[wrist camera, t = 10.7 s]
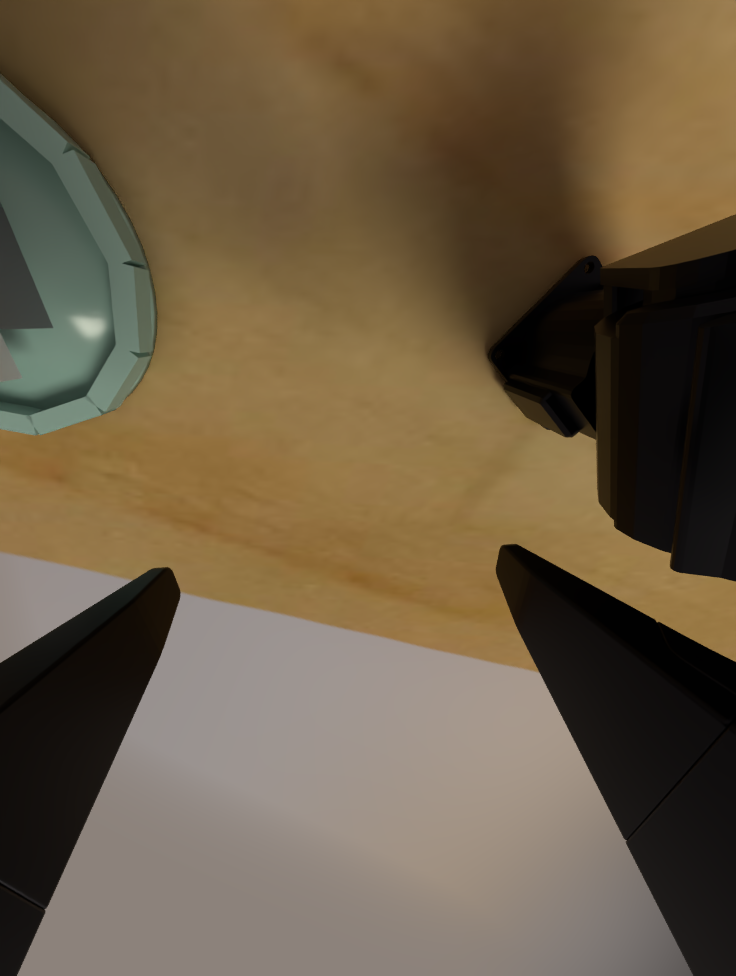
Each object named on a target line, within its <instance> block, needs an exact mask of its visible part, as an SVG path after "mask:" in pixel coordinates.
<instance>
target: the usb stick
mask: <svg viewBox="0 0 736 976" xmlns="http://www.w3.org/2000/svg"><path fill="white" fill-rule="evenodd" d="M43 328H53V326H52V323H51V321H50V319H49V316H48V314H47V311H46V309H45V307H44V304H43V302H42V300H41V297H40V295H39V292H38V290H37V288H36V285H35V283H34V280H33V278H32V276H31V273H30V271H29V269H28V266H27V264H26V261H25V259H24V257H23V254H22V252H21V249H20V247H19V245H18V242H17V240H16V238H15V235H14V233H13V230H12V228H11V226H10V223H9V221H8V218H7V216H6V214H5V211H4V209H3V207H2V205H1V202H0V329H43ZM21 378H22V376H21V374H20V372H19V370H18V368H17V366H16V364H15V362H14V360H13V358H12V356H11V354H10V352H9V350H8V348H7V346H6V344H5V341H4V339H3V337H2V335H1V333H0V382H3V381H9V380H15V379H21Z"/></svg>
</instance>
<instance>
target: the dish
mask: <svg viewBox="0 0 736 976" xmlns="http://www.w3.org/2000/svg"><path fill="white" fill-rule="evenodd" d="M89 158H90V156H89V155H88V154H87V153H85V152H84V151H83V150H82V149H81V148H80V146H79V145H78V144H77V143H76V142H75V141H74V140H73V139H72V138H71V137H70V136H69V135H68V134H67V133H66V132H65V131H64V130H63V129H62V128H61V127H60V126H59V125H58V124H57V123H56V122H55V121H54V120H53V119H52V118H50V117H49V116H48V115H47V114H46V113H45V112H43V111H42V110H41V109H40V108H39V107H37V106H36V105H35V104H34V103H33V102H32V101H30V100H29V99H28V98H26V97H25V96H24V95H23V94H22V93H21V92H20V91H19V90H18V89H17V88H16V87H14V86H13V85H12V84H11V83H10V82H9V81H8V80H7V79H6V78H5V77H4V76H3V75H2V74H0V202H1V205H2V207H3V209H4V211H5V214H6V216H7V218H8V221H9V223H10V226H11V228H12V230H13V233H14V235H15V238H16V240H17V242H18V245H19V247H20V249H21V252H22V254H23V257H24V259H25V261H26V264H27V266H28V269H29V271H30V273H31V276H32V278H33V280H34V283H35V285H36V288H37V290H38V292H39V295H40V297H41V300H42V302H43V304H44V307H45V309H46V311H47V314H48V316H49V319H50V321H51V323H52V326H53V328H43V329H0V333H1V335H2V337H3V339H4V341H5V344H6V346H7V348H8V350H9V352H10V354H11V356H12V358H13V360H14V362H15V364H16V366H17V368H18V370H19V372H20V374H21V376H22V378H21V379H15V380H9V381H3V382H0V429H3V430H9V431H14V432H20V433H26V434H31V435H38V434H40V435H43V434H46V433H49V432H52V431H55V430H58V429H61V428H64V427H67V426H70V425H73V424H76V423H79V422H82V421H85V420H88V419H91V418H94V417H97V416H100V415H103V414H105V413H108V412H111V411H113V410H116V408H118V407H120V406H121V404H122V402H123V401H124V400H125V399H126V398H127V397H128V396H129V395H130V394H131V393H132V392H133V391H134V390H135V388H136V387H137V386H138V384H139V383H140V382H141V381H142V379H143V377H144V375H145V373H146V371H147V369H148V367H149V365H150V361H151V358H152V355H153V352H154V348H155V342H156V335H157V305H156V296H155V289H154V285H153V280H152V276H151V272H150V268H149V265H148V262H147V259H146V256H145V253H144V250H143V247H142V245H141V242H140V240H139V238H138V236H137V233H136V231H135V229H134V227H133V225H132V222H131V220H130V218H129V217H128V215H127V213H126V211H125V210H124V208H123V206H122V204H121V203H120V201H119V199H118V197H117V196H116V194H115V193H114V191H113V190H112V188H111V187H110V185H109V184H108V182H107V181H106V180H105V178H104V177H103V175H102V174H101V172H100V171H99V169H98V168H97V166H96V164H95V163H93V162H92V161H91V160H90V159H89Z"/></svg>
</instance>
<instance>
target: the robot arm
mask: <svg viewBox="0 0 736 976" xmlns="http://www.w3.org/2000/svg"><path fill="white" fill-rule="evenodd" d="M586 264H588V265H589V270H588V272H587V273H585V272H584V267H585V265H586ZM499 350H500V351H501V356H500V358H498V359H496V357H495V355H496V352H497V351H499ZM488 359H489V361H490V363H491V364H492V365H493V366H494V368H495V369H496V370H497V371H498V372H499V374H500V375H501V376H502V377H503V379H504V380H505V381H506V383H505V384H504V390H505V392H506V393H507V394H508V395H509V397H510V398H511V399H512V400H513V402H514V403H515V404H516V405H517V406H518V408H519V409H520V410H521V411H522V413H523V414H524V415H525V416H526V417H527V418H529V419H530V420H532V421H534V422H536V423H538V424H540V425H541V426H542V427H543V428H545V429H547V430H552V431H554V432H556V433H558V434H560V435H562V436H564V437H573V436H575V435H576V434H577V433H578V432H580V433H582V434H584V435H587V436H589V437H591V438H593V439H595V440H596V449H597V490H598V500H599V503H600V505H601V506H602V507H603V508H604V510H605V511H606V512H607V513H608V515H609V516H610V517H611V518H612V519H613V520H614V527H615V528H616V529H617V530H619V531H621V532H622V533H624V534H626V535H627V536H629V537H631V538H632V539H634V540H637V541H639V542H642V543H644V544H647V545H649V546H652V547H654V548H657V549H659V550H662V551H665V552H669V553H671V560H670V568H671V569H672V570H673V571H676V572H680V573H687V574H695V575H703V576H711V577H719V578H724V579H728V580H732V581H736V214H735V215H733V216H730V217H728V218H725V219H722V220H720V221H717V222H715V223H712V224H710V225H707V226H705V227H702V228H700V229H697V230H695V231H692V232H690V233H687V234H685V235H682V236H679V237H677V238H674V239H672V240H669V241H667V242H664V243H662V244H659V245H657V246H654V247H652V248H649V249H647V250H644V251H642V252H639V253H636V254H634V255H631V256H629V257H626V258H624V259H621V260H619V261H616V262H614V263H611V264H609V265H606V266H604V267H602V265H601V263H600V261H599V259H598V258H597V257H596V256H588V257H584V258H582V259H581V260H579V261H578V262H577V263H576V264H575V265H574V266H573V267H572V268H571V269H570V270H569V271H568V272H567V273H566V274H565V275H564V276H563V277H562V278H561V279H560V280H559V281H558V282H557V283H556V284H555V285H554V286H553V287H552V288H551V289H550V290H549V291H548V292H547V293H546V294H545V295H544V296H543V297H542V298H541V299H540V300H539V301H538V302H537V303H536V304H535V305H534V306H533V307H532V308H531V309H530V310H529V311H528V312H527V313H526V314H525V315H524V316H523V317H522V318H521V319H520V320H519V321H518V322H517V323H516V324H515V325H514V326H513V327H512V328H511V329H510V330H509V331H508V332H507V333H506V334H505V335H504V336H503V337H502V338H501V339H500V340H499V341H498V342H497V343H496V344H495V345H494V346H493V347H492V348H491V349H490V350H489V353H488ZM496 574H497V578H498V580H499V583H500V585H501V588H502V591H503V593H504V596H505V599H506V601H507V604H508V606H509V609H510V612H511V614H512V617H513V619H514V622H515V624H516V627H517V629H518V631H519V633H520V635H521V637H522V639H523V641H524V643H525V645H526V647H527V649H528V651H529V653H530V655H531V657H532V658H533V660H534V662H535V664H536V666H537V668H538V670H539V672H540V674H541V676H542V678H543V680H544V682H545V684H546V686H547V688H548V690H549V692H550V694H551V696H552V698H553V700H554V702H555V704H556V706H557V708H558V710H559V712H560V714H561V716H562V717H563V720H564V721H565V723H566V725H567V727H568V729H569V731H570V733H571V735H572V737H573V739H574V741H575V743H576V745H577V747H578V749H579V751H580V753H581V755H582V757H583V759H584V761H585V763H586V765H587V767H588V769H589V771H590V773H591V774H592V776H593V779H594V781H595V782H596V784H597V786H598V788H599V790H600V792H601V794H602V796H603V798H604V800H605V802H606V804H607V806H608V808H609V810H610V812H611V814H612V816H613V818H614V820H615V822H616V824H617V826H618V828H619V830H620V832H621V834H622V836H623V838H624V839H625V840H627V841H626V844H627V846H628V848H629V850H630V852H631V854H632V856H633V858H634V860H635V862H636V864H637V866H638V868H639V870H640V872H641V873H642V876H643V878H644V880H645V882H646V883H647V885H648V887H649V889H650V891H651V893H652V895H653V897H654V899H655V901H656V903H657V905H658V907H659V909H660V911H661V913H662V915H663V917H664V919H665V921H666V923H667V925H668V927H669V929H670V931H671V933H672V935H673V937H674V938H675V940H676V942H677V945H678V946H679V948H680V950H681V952H682V954H683V956H684V958H685V960H686V962H687V964H688V966H689V968H690V970H691V972H692V974H693V976H736V662H735V661H733V660H731V659H729V658H727V657H725V656H723V655H721V654H719V653H717V652H715V651H713V650H711V649H709V648H707V647H705V646H703V645H701V644H699V643H697V642H695V641H694V640H692V639H690V638H688V637H686V636H684V635H682V634H680V633H678V632H677V631H675V630H673V629H671V628H669V627H668V626H666V625H664V624H662V623H660V622H656V620H655V619H653V618H651V617H649V616H647V615H645V614H644V613H642V612H640V611H638V610H636V609H635V608H633V607H631V606H629V605H627V604H625V603H624V602H622V601H620V600H618V599H616V598H614V597H613V596H611V595H609V594H607V593H605V592H603V591H602V590H600V589H598V588H596V587H594V586H592V585H591V584H589V583H587V582H585V581H583V580H581V579H580V578H578V577H576V576H574V575H572V574H571V573H569V572H567V571H565V570H563V569H561V568H560V567H558V566H556V565H554V564H552V563H550V562H549V561H547V560H545V559H543V558H541V557H539V556H538V555H536V554H534V553H532V552H530V551H528V550H527V549H525V548H523V547H521V546H519V545H517V544H507V545H502V546H501V547H500V550H499V555H498V560H497V565H496ZM179 600H180V589H179V586H178V583H177V581H176V578H175V576H174V573H173V571H172V570H171V569H170V568H168V567H163V568H153V569H151V570H149V571H147V572H146V573H144V574H143V575H141V576H139V577H138V578H136V579H135V580H133V581H131V582H130V583H128V584H127V585H125V586H124V587H122V588H120V589H119V590H117V591H115V592H114V593H112V594H110V595H109V596H107V597H106V598H104V599H102V600H101V601H99V602H98V603H96V604H94V605H93V606H91V607H89V608H88V609H86V610H85V611H83V612H82V613H80V614H78V615H77V616H75V617H74V618H72V619H70V620H69V621H67V622H65V623H64V624H62V625H61V626H59V627H57V628H56V629H54V630H53V631H51V632H49V633H48V634H46V635H44V636H43V637H41V638H40V639H38V640H36V641H35V642H33V643H32V644H30V645H28V646H27V647H25V648H24V649H22V650H20V651H19V652H17V653H16V654H14V655H12V656H11V657H9V658H8V659H6V660H4V661H3V662H1V663H0V976H17V974H18V972H19V970H20V968H21V965H22V963H23V961H24V959H25V956H26V954H27V952H28V950H29V947H30V945H31V943H32V941H33V939H34V936H35V934H36V932H37V929H38V927H39V925H40V923H41V921H42V919H43V917H44V914H45V909H46V908H47V906H48V905H49V902H50V900H51V898H52V896H53V893H54V891H55V889H56V887H57V885H58V882H59V880H60V878H61V875H62V873H63V871H64V869H65V867H66V865H67V862H68V860H69V858H70V856H71V854H72V851H73V849H74V847H75V845H76V843H77V840H78V838H79V836H80V834H81V831H82V829H83V827H84V825H85V823H86V820H87V818H88V816H89V814H90V811H91V809H92V807H93V805H94V803H95V800H96V798H97V796H98V794H99V792H100V789H101V787H102V785H103V783H104V780H105V778H106V776H107V774H108V771H109V769H110V767H111V765H112V763H113V760H114V758H115V756H116V754H117V752H118V749H119V747H120V745H121V743H122V740H123V738H124V736H125V734H126V732H127V729H128V727H129V725H130V723H131V721H132V718H133V716H134V714H135V712H136V709H137V707H138V705H139V703H140V701H141V698H142V696H143V694H144V692H145V689H146V687H147V685H148V683H149V681H150V678H151V676H152V674H153V672H154V669H155V667H156V665H157V663H158V660H159V658H160V656H161V653H162V650H163V648H164V645H165V642H166V639H167V636H168V633H169V630H170V627H171V624H172V621H173V618H174V615H175V612H176V609H177V606H178V603H179Z"/></svg>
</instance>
